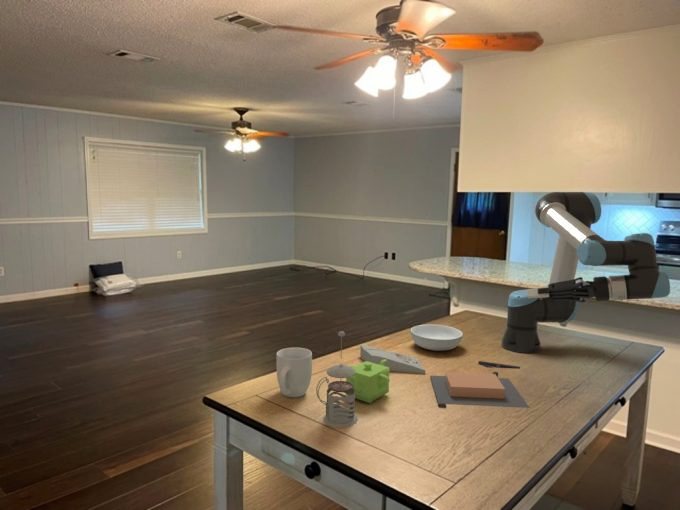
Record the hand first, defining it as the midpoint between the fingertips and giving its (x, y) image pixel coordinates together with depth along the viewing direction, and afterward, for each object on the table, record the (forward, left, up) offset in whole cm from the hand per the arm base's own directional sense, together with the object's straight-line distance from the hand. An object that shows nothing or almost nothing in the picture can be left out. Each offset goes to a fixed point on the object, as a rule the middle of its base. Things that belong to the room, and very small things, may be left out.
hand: (527, 293), depth 158 cm
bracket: (-7, -7, -31) cm, 32 cm away
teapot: (+18, -52, -30) cm, 63 cm away
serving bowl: (-33, -25, -30) cm, 51 cm away
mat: (+12, -18, -30) cm, 37 cm away
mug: (+19, -75, -30) cm, 83 cm away
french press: (+34, -60, -30) cm, 75 cm away
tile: (+12, -11, -27) cm, 32 cm away
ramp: (-10, -44, -31) cm, 54 cm away
